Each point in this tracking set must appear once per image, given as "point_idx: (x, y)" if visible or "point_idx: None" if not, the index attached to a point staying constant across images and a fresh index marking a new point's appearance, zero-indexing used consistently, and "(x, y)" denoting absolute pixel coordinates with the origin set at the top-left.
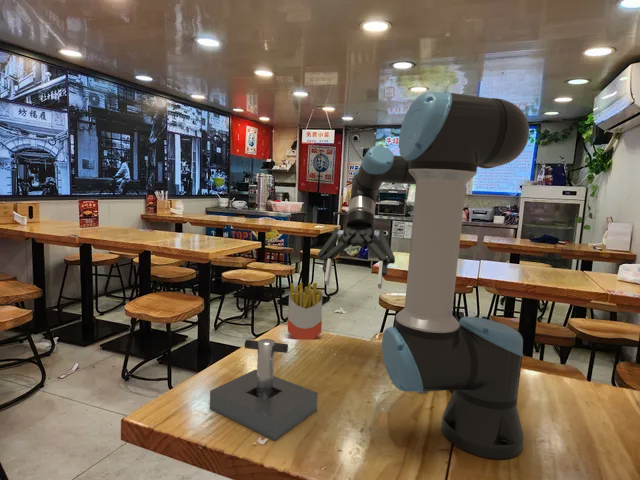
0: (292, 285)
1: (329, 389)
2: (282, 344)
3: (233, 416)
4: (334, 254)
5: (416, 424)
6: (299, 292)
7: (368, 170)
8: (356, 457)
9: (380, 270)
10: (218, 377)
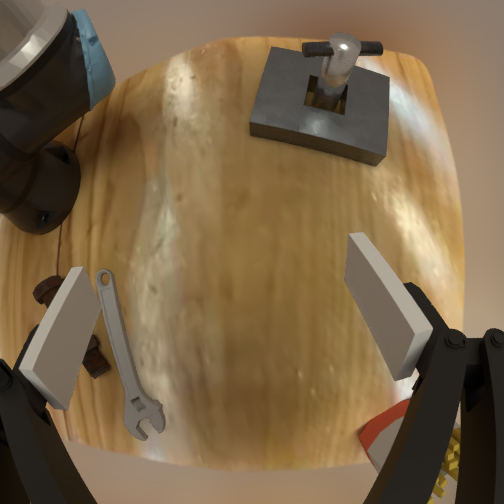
0: None
1: (255, 207)
2: (313, 43)
3: None
4: (412, 407)
5: (108, 170)
6: (453, 456)
7: None
8: (172, 76)
9: (48, 319)
10: (433, 169)
